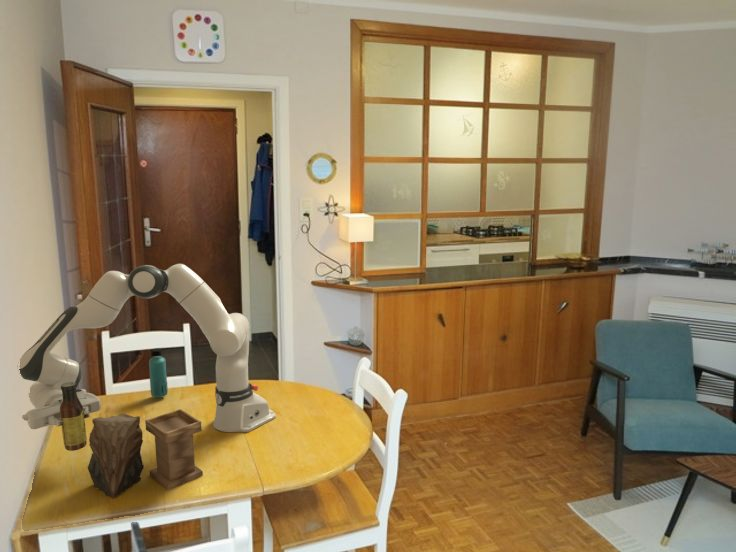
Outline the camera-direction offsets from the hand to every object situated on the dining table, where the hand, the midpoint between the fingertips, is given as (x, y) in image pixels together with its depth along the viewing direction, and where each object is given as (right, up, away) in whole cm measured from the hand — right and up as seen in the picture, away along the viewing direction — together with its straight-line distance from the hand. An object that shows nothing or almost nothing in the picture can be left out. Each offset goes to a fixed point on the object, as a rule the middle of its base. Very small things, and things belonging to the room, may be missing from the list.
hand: (73, 419), depth 175 cm
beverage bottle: (+5, -6, +59) cm, 59 cm away
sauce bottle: (-1, -9, +3) cm, 9 cm away
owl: (+14, -19, -4) cm, 23 cm away
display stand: (+30, -17, +2) cm, 34 cm away
